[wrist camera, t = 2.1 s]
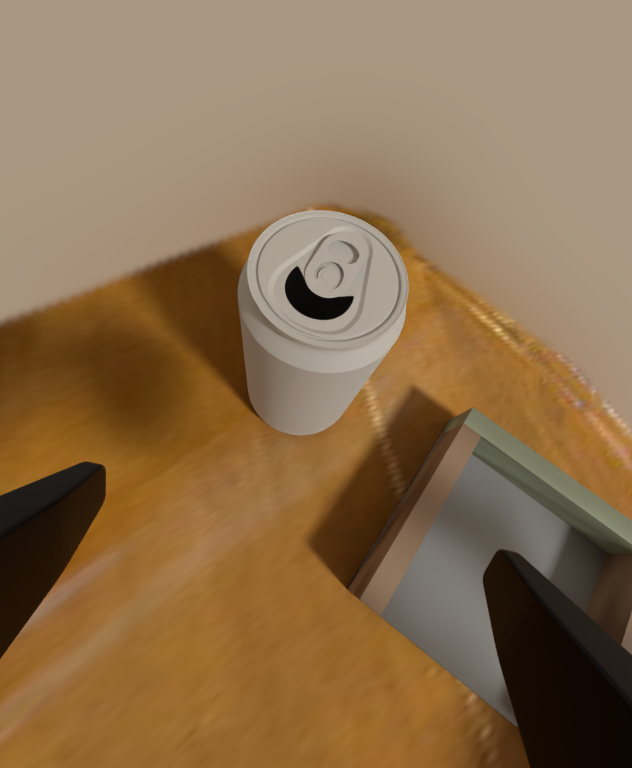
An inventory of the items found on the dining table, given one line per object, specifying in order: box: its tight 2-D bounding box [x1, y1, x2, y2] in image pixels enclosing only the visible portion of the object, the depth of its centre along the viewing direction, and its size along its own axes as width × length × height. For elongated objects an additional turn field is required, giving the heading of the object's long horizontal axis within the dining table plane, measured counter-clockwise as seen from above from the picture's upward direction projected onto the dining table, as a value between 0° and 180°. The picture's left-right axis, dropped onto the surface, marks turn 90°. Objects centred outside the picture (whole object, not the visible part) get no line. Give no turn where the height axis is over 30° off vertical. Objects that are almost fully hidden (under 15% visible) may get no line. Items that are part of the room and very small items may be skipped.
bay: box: [347, 408, 632, 729], centre depth 20 cm, size 12×13×3 cm
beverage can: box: [238, 210, 408, 435], centre depth 18 cm, size 6×6×12 cm
